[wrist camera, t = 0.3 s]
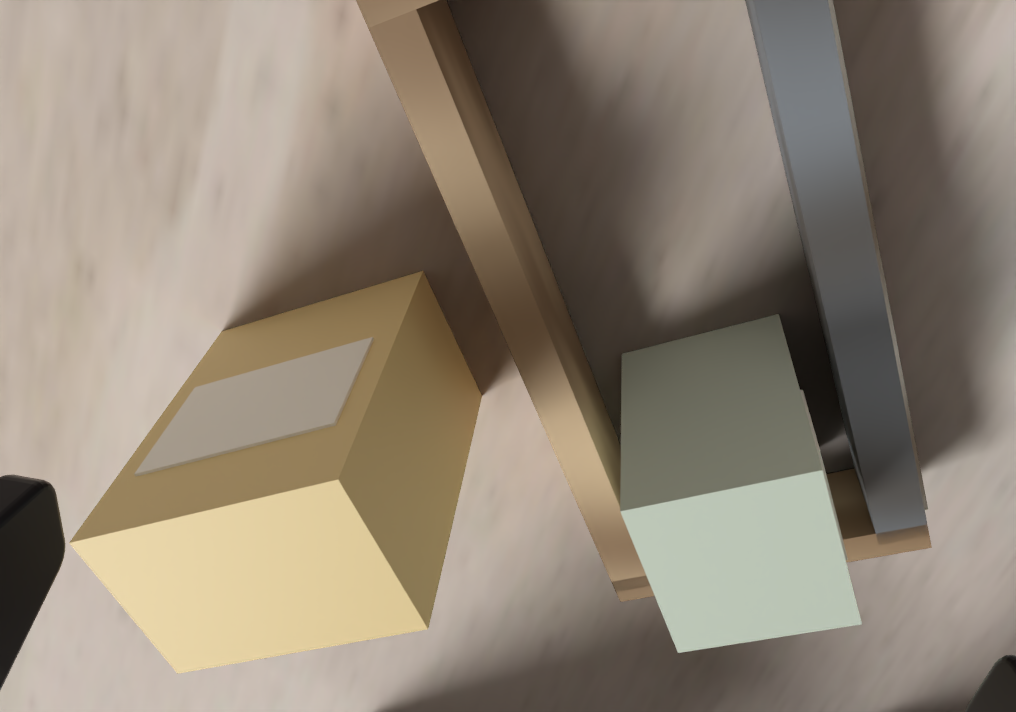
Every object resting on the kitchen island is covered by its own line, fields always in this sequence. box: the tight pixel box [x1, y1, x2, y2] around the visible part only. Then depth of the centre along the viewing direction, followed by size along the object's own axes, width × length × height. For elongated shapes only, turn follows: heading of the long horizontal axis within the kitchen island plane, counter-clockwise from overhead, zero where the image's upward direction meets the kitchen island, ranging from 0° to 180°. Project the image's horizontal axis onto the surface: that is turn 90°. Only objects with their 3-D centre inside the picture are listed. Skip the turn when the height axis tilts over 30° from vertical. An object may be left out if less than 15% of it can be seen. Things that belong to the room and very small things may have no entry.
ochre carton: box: [70, 271, 482, 673], centre depth 21 cm, size 4×6×8 cm
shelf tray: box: [356, 0, 932, 602], centre depth 21 cm, size 17×8×2 cm, turn 21°
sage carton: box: [620, 314, 862, 653], centre depth 21 cm, size 4×4×6 cm
